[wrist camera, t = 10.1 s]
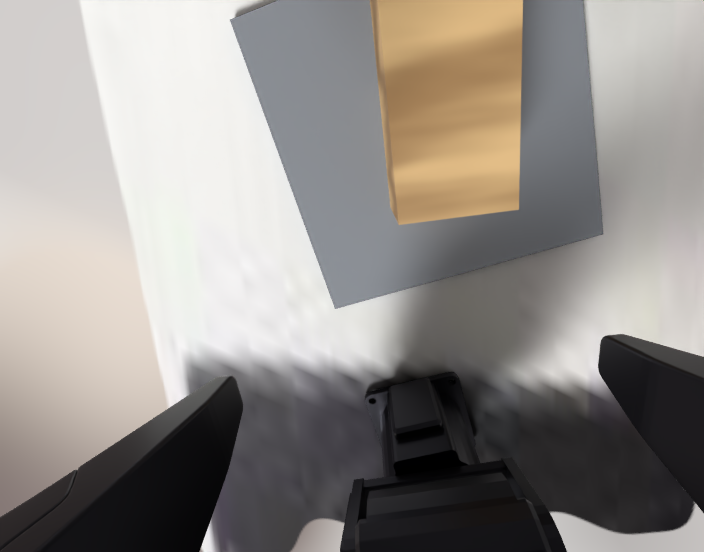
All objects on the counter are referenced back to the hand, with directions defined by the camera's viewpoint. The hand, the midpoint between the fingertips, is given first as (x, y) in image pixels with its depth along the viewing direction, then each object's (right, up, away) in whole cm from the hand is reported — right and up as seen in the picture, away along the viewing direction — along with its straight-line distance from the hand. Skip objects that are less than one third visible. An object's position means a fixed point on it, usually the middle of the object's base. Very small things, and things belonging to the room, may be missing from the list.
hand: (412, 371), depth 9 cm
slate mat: (+3, +10, +10) cm, 14 cm away
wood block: (+3, +6, +9) cm, 11 cm away
